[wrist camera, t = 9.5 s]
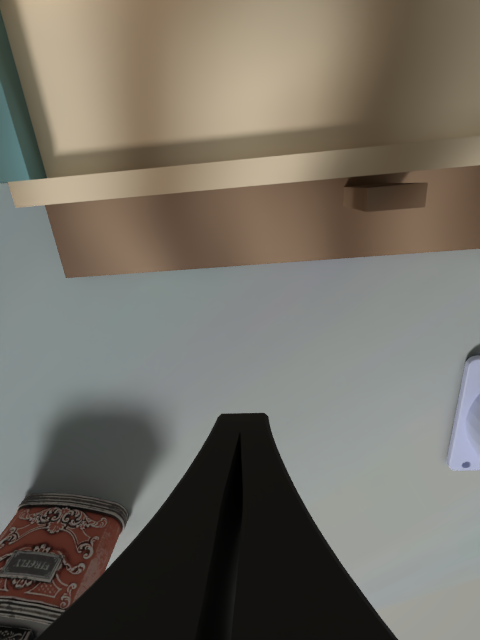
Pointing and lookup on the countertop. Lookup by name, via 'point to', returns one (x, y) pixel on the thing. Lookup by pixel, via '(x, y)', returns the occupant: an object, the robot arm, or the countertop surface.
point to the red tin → (53, 558)
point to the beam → (231, 93)
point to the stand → (271, 223)
